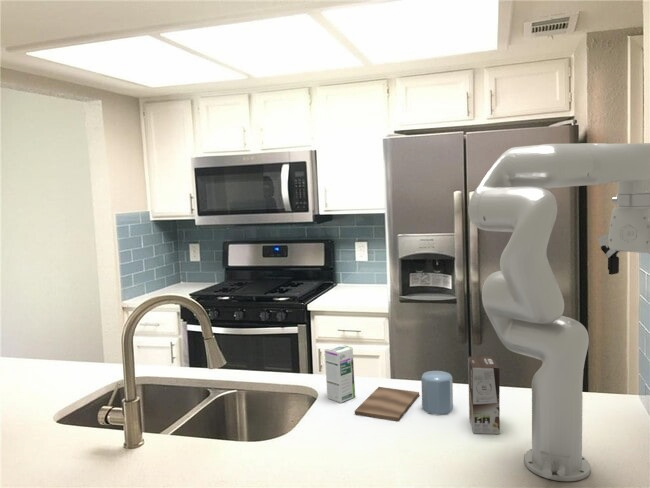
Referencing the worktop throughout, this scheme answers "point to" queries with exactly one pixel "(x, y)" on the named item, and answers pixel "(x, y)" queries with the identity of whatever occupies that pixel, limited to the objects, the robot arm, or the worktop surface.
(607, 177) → the robot arm
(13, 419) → the worktop surface
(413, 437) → the worktop surface
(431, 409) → the cup
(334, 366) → the syrup box
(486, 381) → the coffee box
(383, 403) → the board
